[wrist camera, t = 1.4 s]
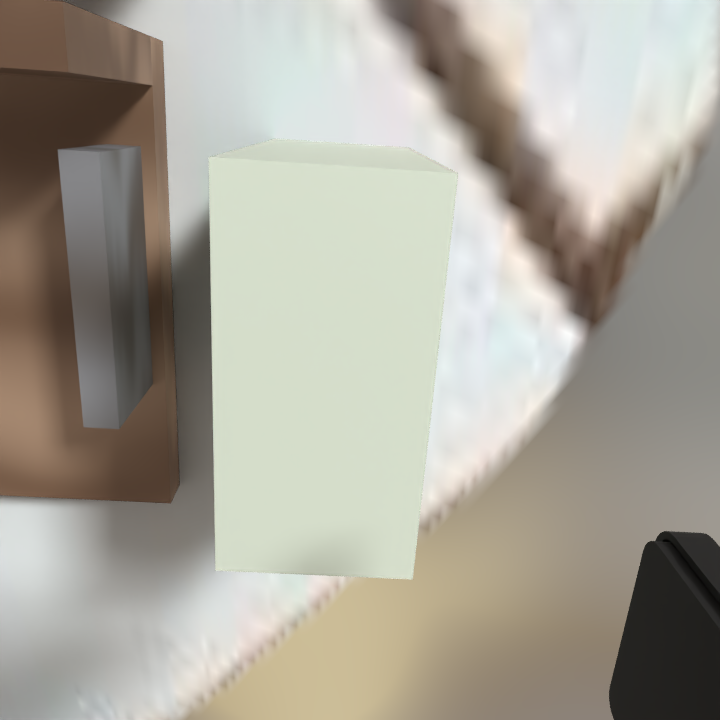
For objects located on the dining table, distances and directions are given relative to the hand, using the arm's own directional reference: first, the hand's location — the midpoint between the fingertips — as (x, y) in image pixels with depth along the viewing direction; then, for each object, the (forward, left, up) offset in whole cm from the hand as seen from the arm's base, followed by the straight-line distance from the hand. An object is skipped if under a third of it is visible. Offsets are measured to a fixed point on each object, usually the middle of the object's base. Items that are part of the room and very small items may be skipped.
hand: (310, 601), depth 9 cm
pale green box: (0, 0, -18) cm, 18 cm away
